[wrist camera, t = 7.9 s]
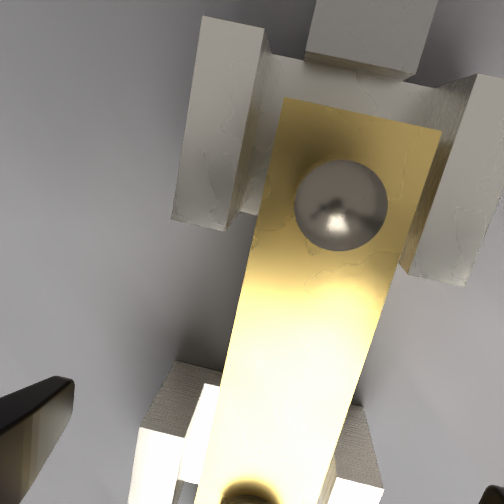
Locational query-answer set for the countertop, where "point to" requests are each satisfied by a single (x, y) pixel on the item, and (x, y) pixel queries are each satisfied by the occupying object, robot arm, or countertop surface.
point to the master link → (311, 298)
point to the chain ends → (254, 176)
